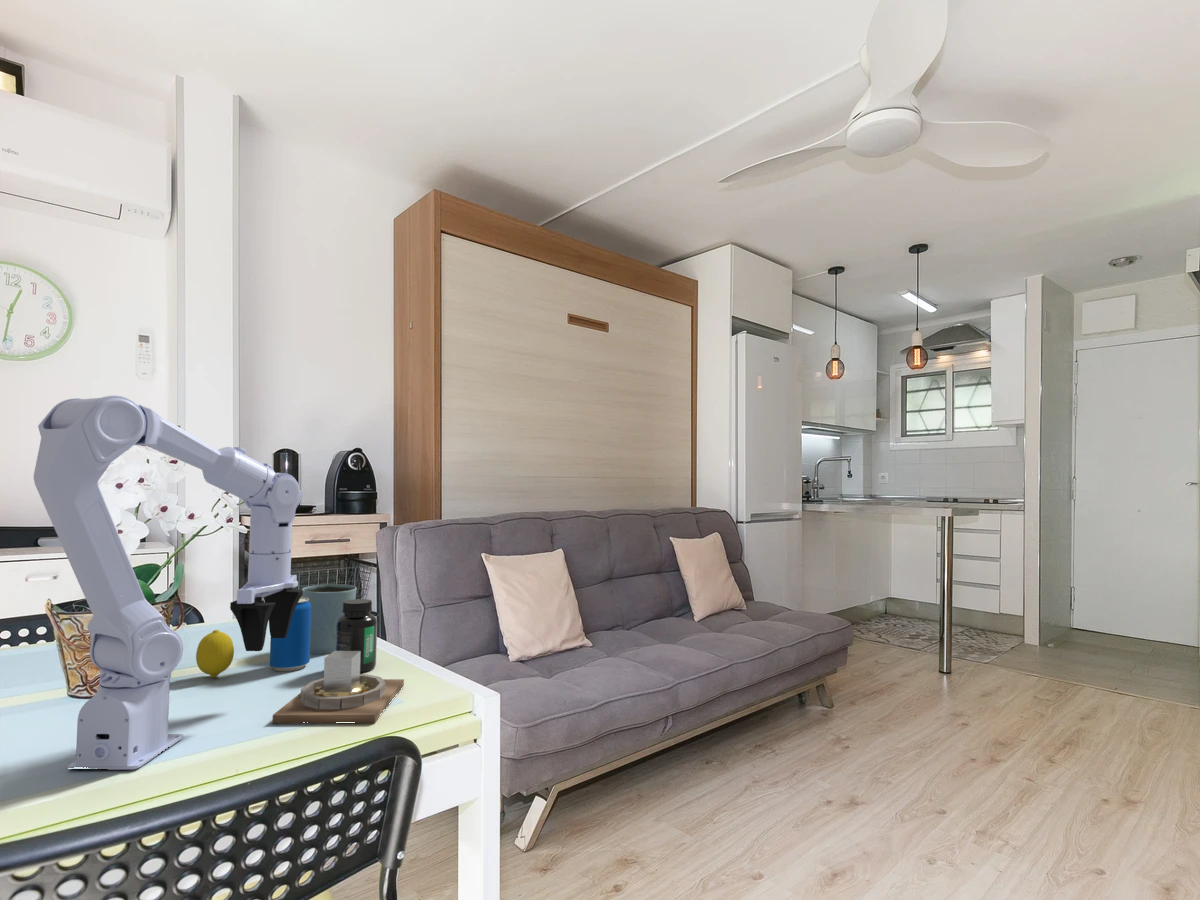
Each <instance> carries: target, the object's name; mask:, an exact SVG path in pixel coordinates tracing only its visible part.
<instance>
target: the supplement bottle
mask: <svg viewBox="0 0 1200 900" xmlns="http://www.w3.org/2000/svg"><path fill="white" fill-rule="evenodd" d="M372 605H373V603H372V600H371V599H369V598H355V599H352V600H347V601H344V602H343V610H342V612H343V613H344V616H342V617H341V618H339V620H338V621H337V625H336V651H361V654H360V674H364V673H367V671H368V672H370V671H369V670H371V671H373V670H374V669H375V668H376V666H377V665H376V664H377V644H378V643H377V642H378V638H377V635H378V619H377V618H376V617H375V615H373V614H371V612H372V611H373V608H372V607H373V606H372ZM373 668H374V669H373ZM363 672H364V673H363Z"/></svg>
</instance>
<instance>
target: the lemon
mask: <svg viewBox="0 0 1200 900" xmlns="http://www.w3.org/2000/svg"><path fill="white" fill-rule="evenodd" d="M234 653H235V649H234V643H233V640H232V638H231V637H230V636H229V634H227V633H225V632H223V631H220V630H219V629H214V630H212V632H210V633H207V634H206V635H205V636H203V638H202V639H201V640H200V641H199V643H198V645H197V648H196V652H195V660H196V664H197V667H198V669H199V670H200V671H201V672H202V673H203V674H206V675H209V676H210V677H211V678H217V677H219V675H220V674H221V673H223V672H225V671H226V670H227V669H228V668H229V667H230V666H231V664H232V662H233V659H234Z"/></svg>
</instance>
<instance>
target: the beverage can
mask: <svg viewBox="0 0 1200 900" xmlns="http://www.w3.org/2000/svg"><path fill="white" fill-rule="evenodd" d="M308 600H309V599H308V598H306V597H302V596H301V598H300V599H299V601H298V603H297V605H296V607H295V610H294V612H293V615H292V619H291V622H290V626H289V630H288V633H287V636H286V638H271V637H270V644H269V645H270V649H269V666H270V667H271V668H272V669H274V670H275V671H276V672H293V671H297V670H301V669H303V668H305V667H306V665H307V664H309V663H310V658H311V656H310V655H311V654H310V630H311V604H310V603H309V601H308Z"/></svg>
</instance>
